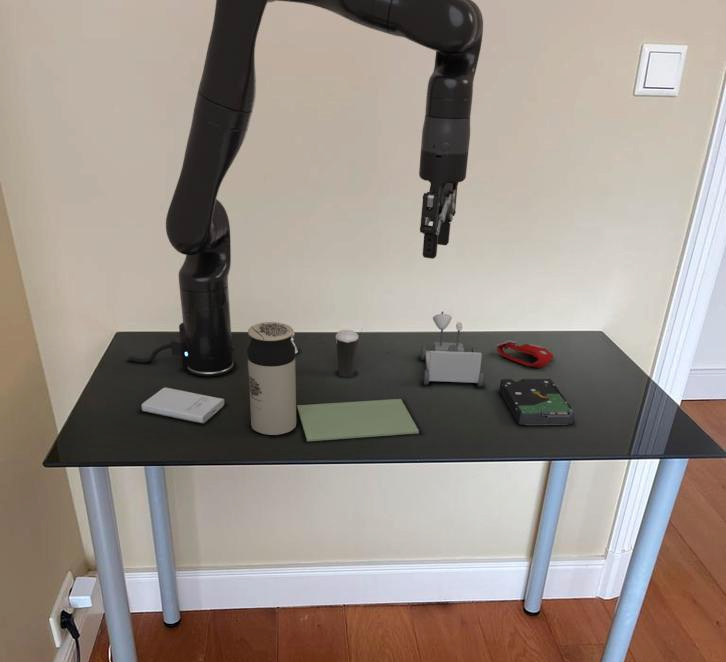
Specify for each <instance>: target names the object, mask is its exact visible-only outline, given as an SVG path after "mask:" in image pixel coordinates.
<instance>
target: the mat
mask: <svg viewBox="0 0 726 662" xmlns="http://www.w3.org/2000/svg"><path fill="white" fill-rule="evenodd" d="M296 410H297V413H298V415H299V420H300V423H301V426H302V429H303V432H304V435H305V439H306V442H318V441H319V442H321V441H332V440H335V441H336V440H346V439H359V438H360V439H361V438H375V437H387V436H388V437H389V436H401V435H402V436H403V435H415V434H420V430H419V429H418V427H417V425H416V422H415V421H414V419H413V418H412V416H411V414H410V412H409V411H408V409H407V407H406V405H405V403H404V402H403V400H402V398H392V399H391V398H390V399H377V400H375V399H374V400H360V401H346V402H345V401H344V402H343V401H342V402H330V403H329V402H328V403H313V404H298V405H297V404H296Z"/></svg>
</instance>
